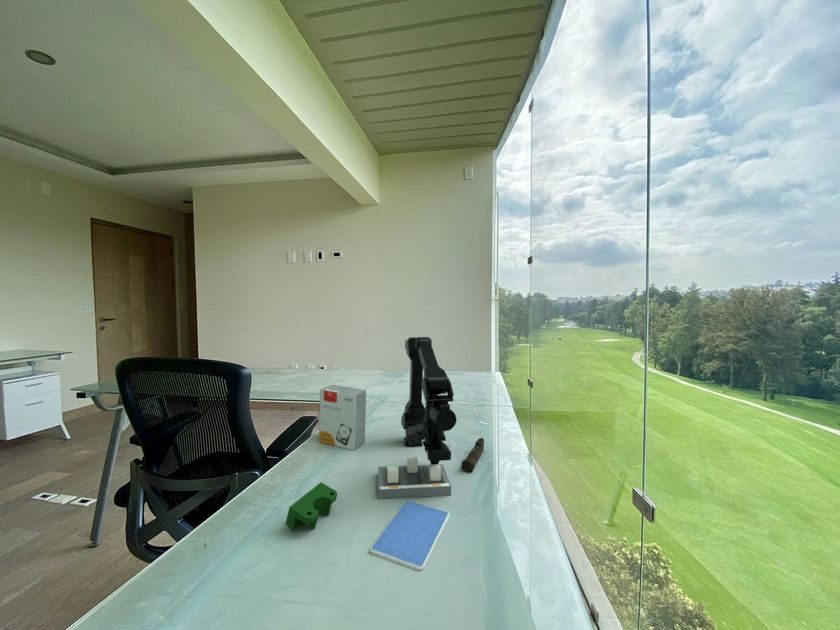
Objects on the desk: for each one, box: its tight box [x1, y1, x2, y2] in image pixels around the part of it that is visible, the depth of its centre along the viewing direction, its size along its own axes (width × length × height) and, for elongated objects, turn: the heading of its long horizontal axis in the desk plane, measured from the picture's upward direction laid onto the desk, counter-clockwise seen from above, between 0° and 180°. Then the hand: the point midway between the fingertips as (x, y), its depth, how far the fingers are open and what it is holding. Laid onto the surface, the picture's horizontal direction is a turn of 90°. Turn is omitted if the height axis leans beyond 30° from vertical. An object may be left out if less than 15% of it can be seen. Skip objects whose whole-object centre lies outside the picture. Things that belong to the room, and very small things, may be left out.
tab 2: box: [406, 456, 419, 473], centre depth 99 cm, size 2×3×4 cm
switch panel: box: [377, 463, 452, 500], centre depth 96 cm, size 12×20×3 cm, turn 97°
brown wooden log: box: [460, 437, 485, 473], centre depth 112 cm, size 19×4×5 cm, turn 152°
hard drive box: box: [318, 384, 367, 451], centre depth 122 cm, size 16×8×20 cm, turn 68°
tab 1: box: [387, 465, 399, 483], centre depth 93 cm, size 2×3×4 cm
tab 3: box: [428, 463, 441, 481], centre depth 95 cm, size 2×3×4 cm
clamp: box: [285, 481, 338, 531], centre depth 81 cm, size 12×6×9 cm, turn 151°
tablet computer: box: [369, 500, 450, 571], centre depth 77 cm, size 19×13×1 cm, turn 158°
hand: (433, 469), depth 98 cm, fingers closed
